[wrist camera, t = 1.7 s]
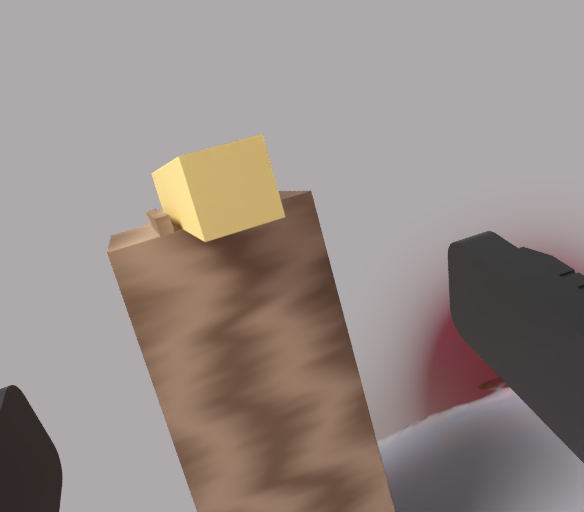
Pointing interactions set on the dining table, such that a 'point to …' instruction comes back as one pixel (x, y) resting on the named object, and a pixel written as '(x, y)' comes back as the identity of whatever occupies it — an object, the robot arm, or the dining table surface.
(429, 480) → the dining table surface
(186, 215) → the bar
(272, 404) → the stand
